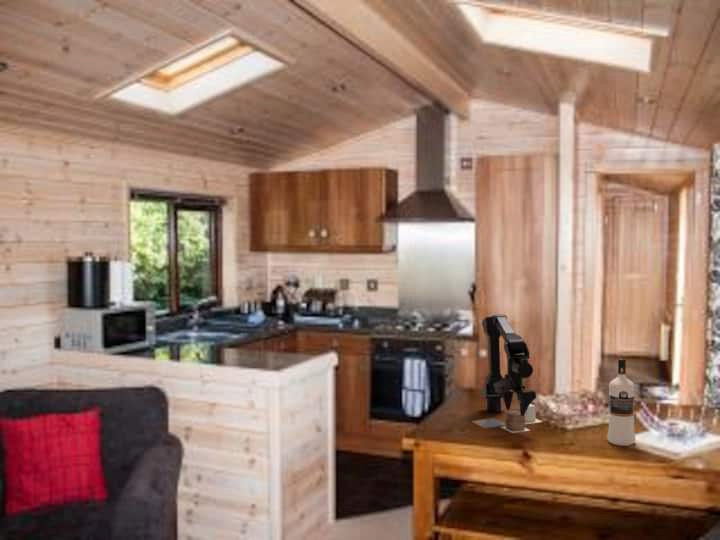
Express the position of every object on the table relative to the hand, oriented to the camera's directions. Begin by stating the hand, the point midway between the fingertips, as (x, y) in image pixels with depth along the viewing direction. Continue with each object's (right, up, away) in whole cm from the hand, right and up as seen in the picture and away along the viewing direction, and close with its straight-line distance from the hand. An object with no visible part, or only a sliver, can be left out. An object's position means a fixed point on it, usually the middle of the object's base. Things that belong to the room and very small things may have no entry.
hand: (515, 412), depth 251 cm
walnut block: (0, -6, 0) cm, 6 cm away
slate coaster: (-8, -6, +8) cm, 13 cm away
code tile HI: (+8, -6, +11) cm, 14 cm away
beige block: (+8, -5, +11) cm, 14 cm away
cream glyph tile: (0, -6, 0) cm, 7 cm away
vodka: (+34, -7, -16) cm, 38 cm away
